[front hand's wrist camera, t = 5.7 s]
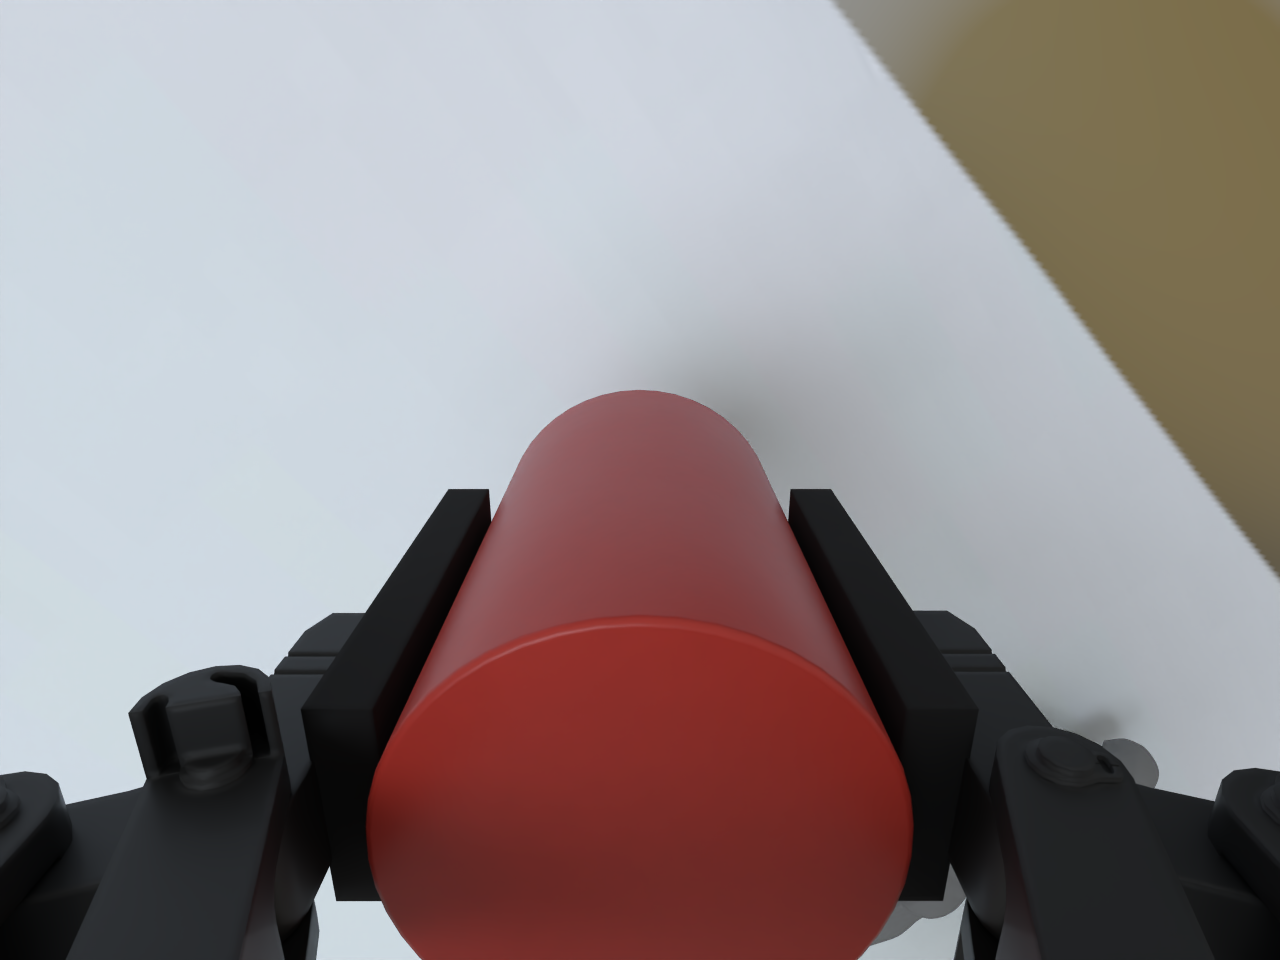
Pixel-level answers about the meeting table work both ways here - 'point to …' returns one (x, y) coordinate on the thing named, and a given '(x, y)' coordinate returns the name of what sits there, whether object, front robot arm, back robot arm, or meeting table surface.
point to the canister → (639, 722)
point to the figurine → (912, 911)
